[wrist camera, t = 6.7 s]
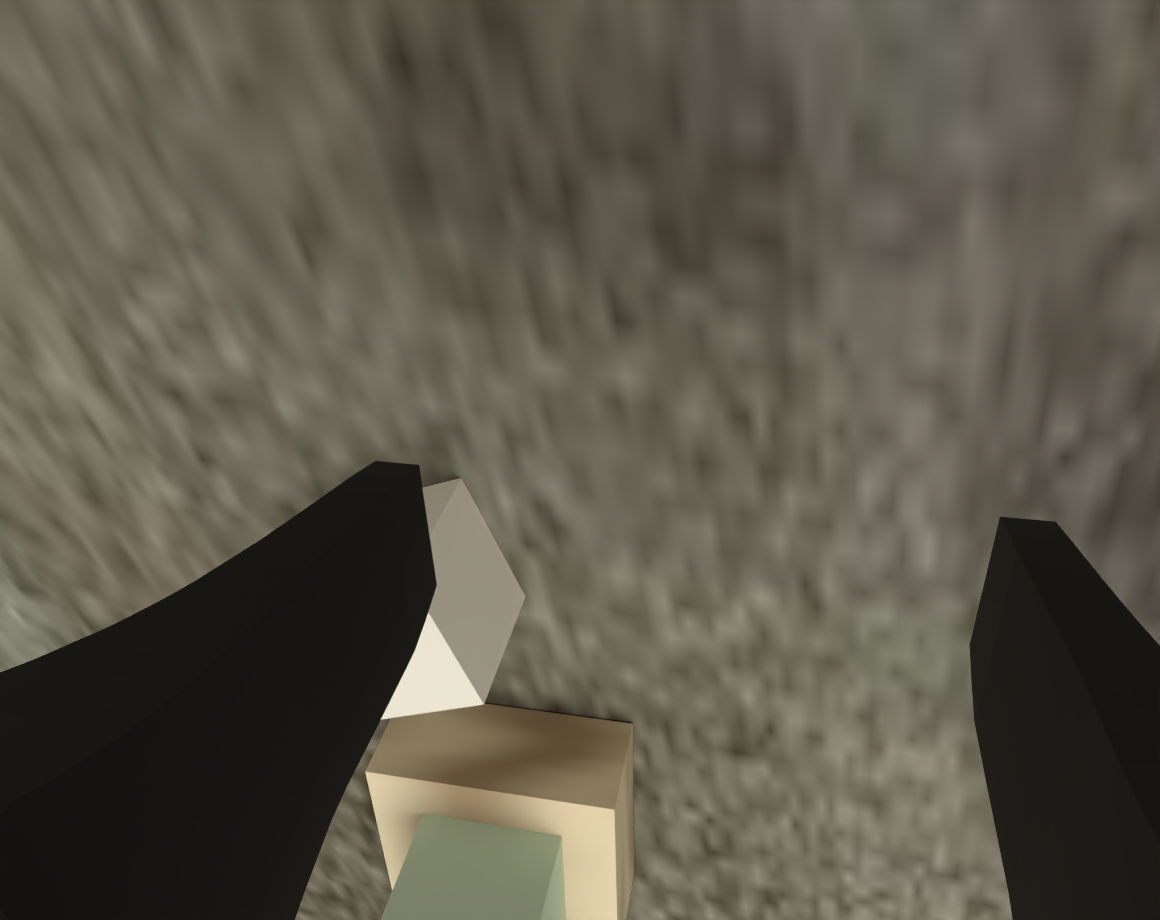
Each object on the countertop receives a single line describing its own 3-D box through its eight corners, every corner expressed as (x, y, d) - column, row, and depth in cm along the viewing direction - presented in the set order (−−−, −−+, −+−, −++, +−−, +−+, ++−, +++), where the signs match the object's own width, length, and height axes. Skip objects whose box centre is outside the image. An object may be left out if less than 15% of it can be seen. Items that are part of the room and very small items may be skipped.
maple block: (633, 723, 29) (614, 809, 27) (634, 871, 33) (618, 959, 31) (402, 692, 31) (365, 771, 28) (430, 838, 35) (399, 919, 32)
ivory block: (461, 476, 26) (407, 577, 23) (526, 594, 28) (484, 704, 24) (334, 507, 27) (265, 607, 24) (402, 618, 29) (347, 724, 26)
